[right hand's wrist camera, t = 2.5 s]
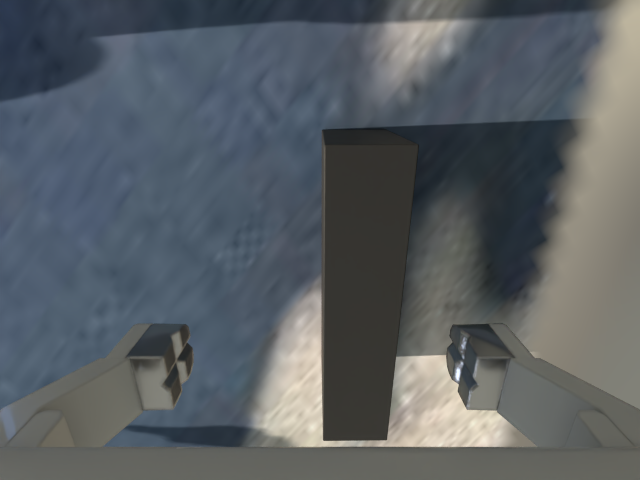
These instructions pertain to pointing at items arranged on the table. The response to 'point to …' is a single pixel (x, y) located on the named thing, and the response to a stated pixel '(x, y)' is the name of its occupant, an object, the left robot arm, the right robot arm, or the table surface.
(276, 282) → the table surface
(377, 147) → the bar
